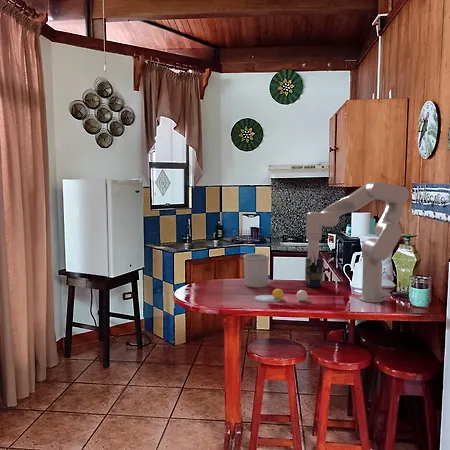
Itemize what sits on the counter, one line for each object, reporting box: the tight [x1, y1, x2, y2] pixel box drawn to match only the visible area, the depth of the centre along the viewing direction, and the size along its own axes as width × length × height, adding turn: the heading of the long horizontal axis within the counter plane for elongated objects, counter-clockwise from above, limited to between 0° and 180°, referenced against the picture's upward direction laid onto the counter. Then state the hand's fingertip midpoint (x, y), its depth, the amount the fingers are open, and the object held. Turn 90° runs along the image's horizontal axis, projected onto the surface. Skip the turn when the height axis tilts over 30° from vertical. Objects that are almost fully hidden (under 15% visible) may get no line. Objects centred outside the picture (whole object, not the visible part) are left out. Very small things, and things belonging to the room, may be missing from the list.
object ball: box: [272, 288, 284, 299], centre depth 234 cm, size 6×6×6 cm
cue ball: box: [296, 289, 308, 302], centre depth 231 cm, size 6×6×6 cm
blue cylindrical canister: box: [304, 256, 323, 288], centre depth 261 cm, size 10×10×18 cm
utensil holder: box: [243, 253, 270, 288], centre depth 265 cm, size 15×15×18 cm
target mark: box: [254, 294, 283, 303], centre depth 235 cm, size 14×14×1 cm
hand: (313, 272), depth 228 cm, fingers closed
